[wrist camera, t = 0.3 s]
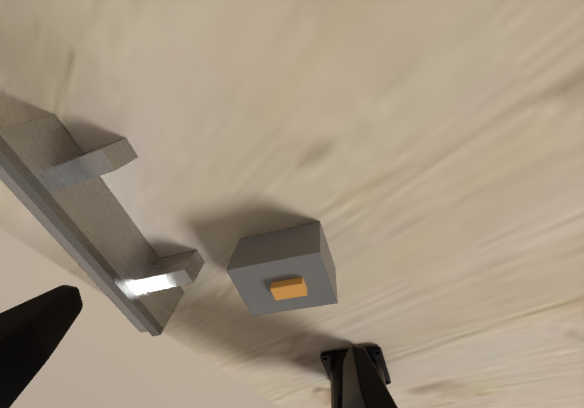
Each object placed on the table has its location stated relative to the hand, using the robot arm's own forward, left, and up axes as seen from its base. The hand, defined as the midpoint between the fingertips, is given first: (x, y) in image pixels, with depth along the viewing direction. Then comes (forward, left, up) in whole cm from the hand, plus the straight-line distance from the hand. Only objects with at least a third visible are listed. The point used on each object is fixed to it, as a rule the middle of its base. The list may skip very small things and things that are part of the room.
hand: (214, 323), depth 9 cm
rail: (0, +12, -13) cm, 18 cm away
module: (-7, +1, -13) cm, 15 cm away
